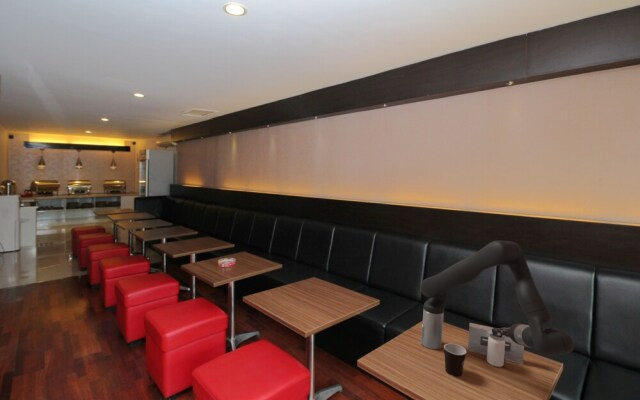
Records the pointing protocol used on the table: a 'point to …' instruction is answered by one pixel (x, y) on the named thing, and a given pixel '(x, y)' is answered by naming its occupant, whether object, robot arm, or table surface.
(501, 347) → the can
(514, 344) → the psu panel
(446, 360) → the coffee mug
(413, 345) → the table surface
